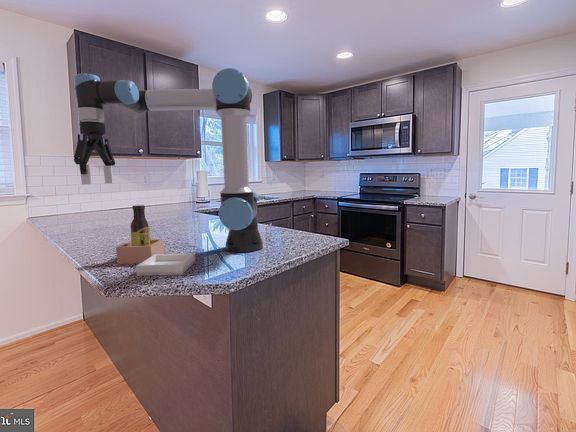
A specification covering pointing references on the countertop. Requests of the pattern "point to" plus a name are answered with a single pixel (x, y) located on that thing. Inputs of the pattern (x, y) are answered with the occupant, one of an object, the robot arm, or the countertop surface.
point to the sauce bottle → (140, 227)
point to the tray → (166, 264)
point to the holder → (139, 252)
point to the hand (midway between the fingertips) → (98, 183)
